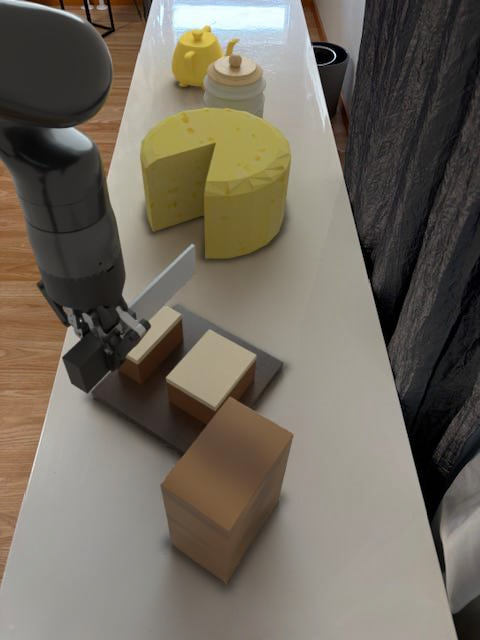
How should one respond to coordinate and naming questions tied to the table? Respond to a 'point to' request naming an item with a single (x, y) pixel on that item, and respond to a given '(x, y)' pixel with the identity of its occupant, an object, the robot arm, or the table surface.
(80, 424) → the table surface
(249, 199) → the cheese
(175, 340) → the slice
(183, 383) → the cream-faced brown block
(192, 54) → the teapot
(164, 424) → the board
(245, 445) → the stand
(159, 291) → the knife
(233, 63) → the jar
